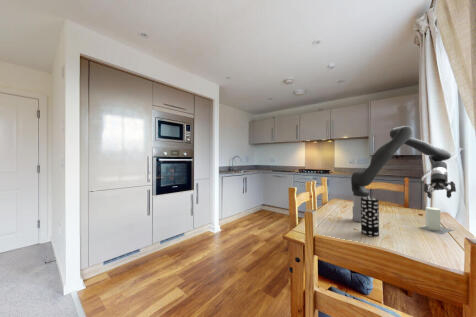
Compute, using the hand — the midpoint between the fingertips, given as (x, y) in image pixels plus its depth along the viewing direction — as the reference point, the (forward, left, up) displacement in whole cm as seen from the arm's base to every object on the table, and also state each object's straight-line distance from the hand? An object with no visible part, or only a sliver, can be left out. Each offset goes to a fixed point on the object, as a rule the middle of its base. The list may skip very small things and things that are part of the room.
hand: (438, 197), depth 119 cm
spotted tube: (-50, +9, -18) cm, 54 cm away
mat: (-10, -3, -18) cm, 21 cm away
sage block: (-11, -2, -17) cm, 21 cm away
